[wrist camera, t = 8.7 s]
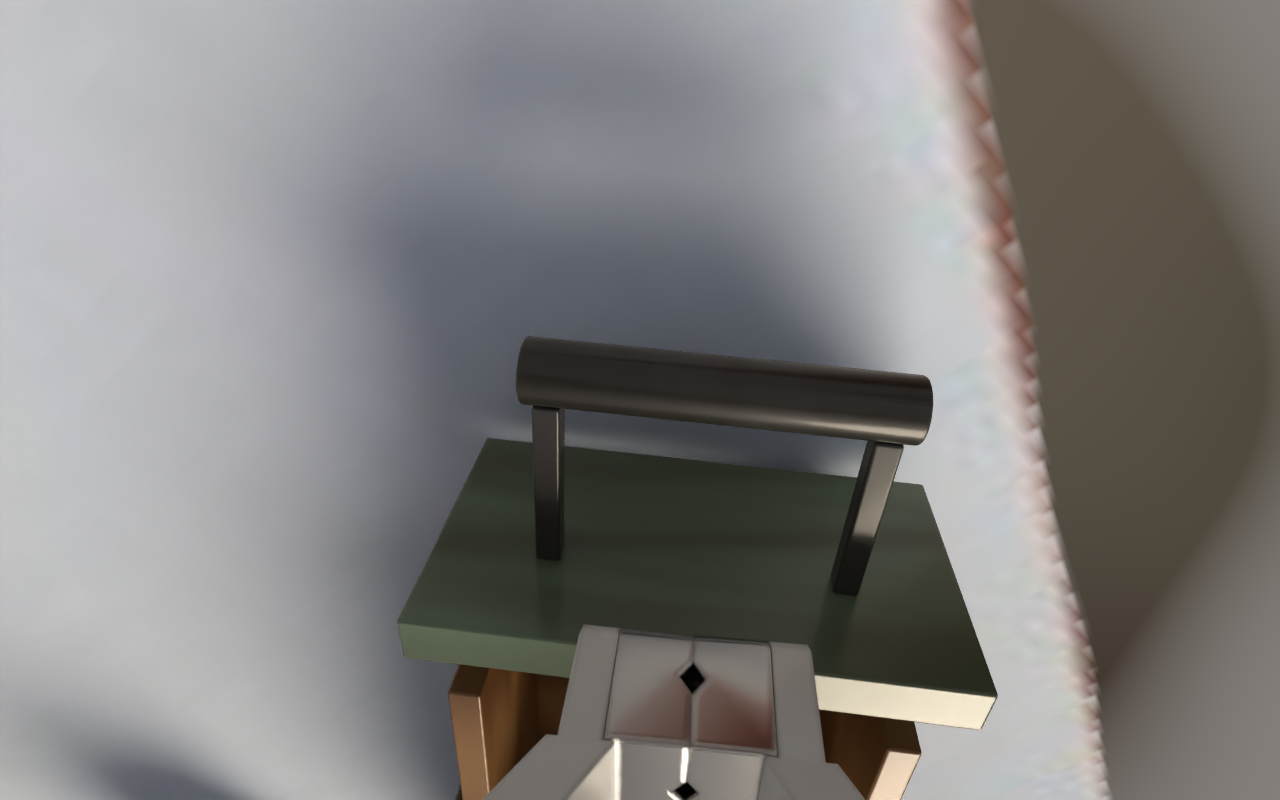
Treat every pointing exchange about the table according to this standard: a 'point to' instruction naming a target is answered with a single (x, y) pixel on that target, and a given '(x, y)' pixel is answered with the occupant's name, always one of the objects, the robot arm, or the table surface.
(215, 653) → the table surface
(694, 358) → the drawer
